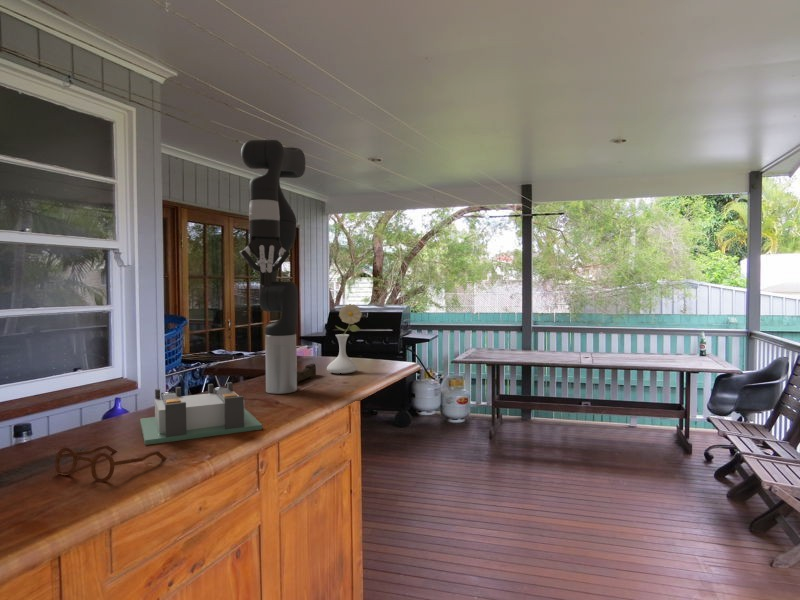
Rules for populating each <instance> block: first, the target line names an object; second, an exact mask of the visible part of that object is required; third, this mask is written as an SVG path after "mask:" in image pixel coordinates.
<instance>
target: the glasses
mask: <svg viewBox="0 0 800 600" xmlns="http://www.w3.org/2000/svg"><path fill="white" fill-rule="evenodd" d="M100 450H107V451H109V452H110V453H112V454H113V453H114V452H115V453H116V452H118V451H117V450H116V449H114V448H113V447H111V446H109V445H100V446H96V447H94V448H91V449H90V450H81V451H75V450H74V449H73V448H71V447H63V448H61V449H59V450H58V452H57V454H56V457H55V460H54V466H55V470H56V472H57V474H59V473H63V474H68V476H71V475H72V474H73V473H74V472H75V470H76V468H77V465H78V461H87V462H89V463H91V466H90V468H91V471H90V472H91V476H92V478H93V480H95V481H96V480H97V481H96V482H99V481H102V482H101V483H103V482H108V481H109V480H111V478H112V476H113V474H114V472H115V471H114V470H115V466H121V465H126V464H133V463H138V462H143V461H145V460H146V459H148V458H151V457H152V456H155V455H156V456H157V457H159V458H160V460H162V461H166V460H167V459H168V458H167V457H166V456H164V455H163V453H161V452H160V451H158V450H155V451H151V452H148V453H146V454H145V455H143V456H141V457H136V458H135V457H134V458H129V459H123V460H116V461H114V458H113V456H112V455H111V454H109V453H107V452H100V453H98V454H96V455H95V456H94V457H93V458H92V457H91V456H86V455H90V454H91V455H92V454H93V453H95V452H98V451H100ZM84 455H85V456H84ZM69 457H72V465H71V467H70V469H69V471H64V470H62V469H61V467H60V460H61V458H69ZM101 457H104V458H106V459H107V460H108V461H109V471H108V474H107V475H106V476H105V477H100V476H98V474H97V471H96V465H97V461H98V460H99V459H100V458H101ZM70 474H71V475H70Z"/></svg>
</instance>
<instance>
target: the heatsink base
mask: <svg viewBox="0 0 800 600" xmlns="http://www.w3.org/2000/svg"><path fill="white" fill-rule="evenodd" d="M226 385H227V386H226V387H227V388H228V389H229V390H230V391H231V392H233V393H235V394H236V395H237V397H227V398H224V401H223V400H222V399H221V398H220V397H219V396H218V395H217V394H216V393H214V384H213V383H207V393H203V394H201V393H200V394H191V395H183V396H182V387H181V386H176V387H175V393H176V395H177V396H178V398H179V399H180V400H181V402H179V403H170V404H164V402H163V400H162V398H161V388H154V416H152V417H143V418H140V419H139V420H140V421H139V423H140V428H141V432H142V436H143V438H142V439H143V441H144V445H145V446H148V445H154V444H155V445H156V444H162V443H169V442H170V443H171V442H178V441H185V440H193V439H194V440H195V439H201V438H206V437H214V436H221V435H223V436H224V435H228V434H237V433H245V432H252V431H259V430H263V424H262V423H261V422H260V421H259V420H258V419H256V417H255V416H254V415H253V414H252V413H251V412H250V411H248V410H247V409H246V402H245V399H244V398H245V397H244V396H243V395H239V394H238V393H236V391H234V389H233V388H234V386H233V382H231V381H230V382H229V381H228V382H226Z"/></svg>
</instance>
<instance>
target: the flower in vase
mask: <svg viewBox="0 0 800 600" xmlns="http://www.w3.org/2000/svg"><path fill="white" fill-rule="evenodd" d="M339 310H340V311H339V314H338V317H339V318H340V320H341V322H343V323H346V324H348V326H347V328H346V329H344V328H341V327H339V326H337V325H335V328H337V329H338V330H340V331H343V333H341V334H340V333H339V334H338V333H337V334H335V337H336V339H337V342H338V346H339V349H338V351H339V352H338V355H337V357H336V358H335V359H333V360H332V361H331V362H330V363H329V364H328V365H327V367H326V370H327V371H328V372H330V373H333V374H340V373H341V374H350V373H355V372H357V371H358V370H359V366H358V364H357V363H356V362H355V361H354V360H352V359H351V358H350V357H349V356H348V355H347V351H346V350H347V349H346V345H347V340H348V338H349V337H350V334H347V333H346V332H347V331H348V330H350V332H358V331H361V328H360V327H359V326H357V325H356V324H355V323H358V322H360V320H361V318H362V315H363V312H362V311H361V309H360V307H359V306H357V305H355V304H352V303H349V304H346V305H344V306H342V307H341V309H339Z"/></svg>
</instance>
